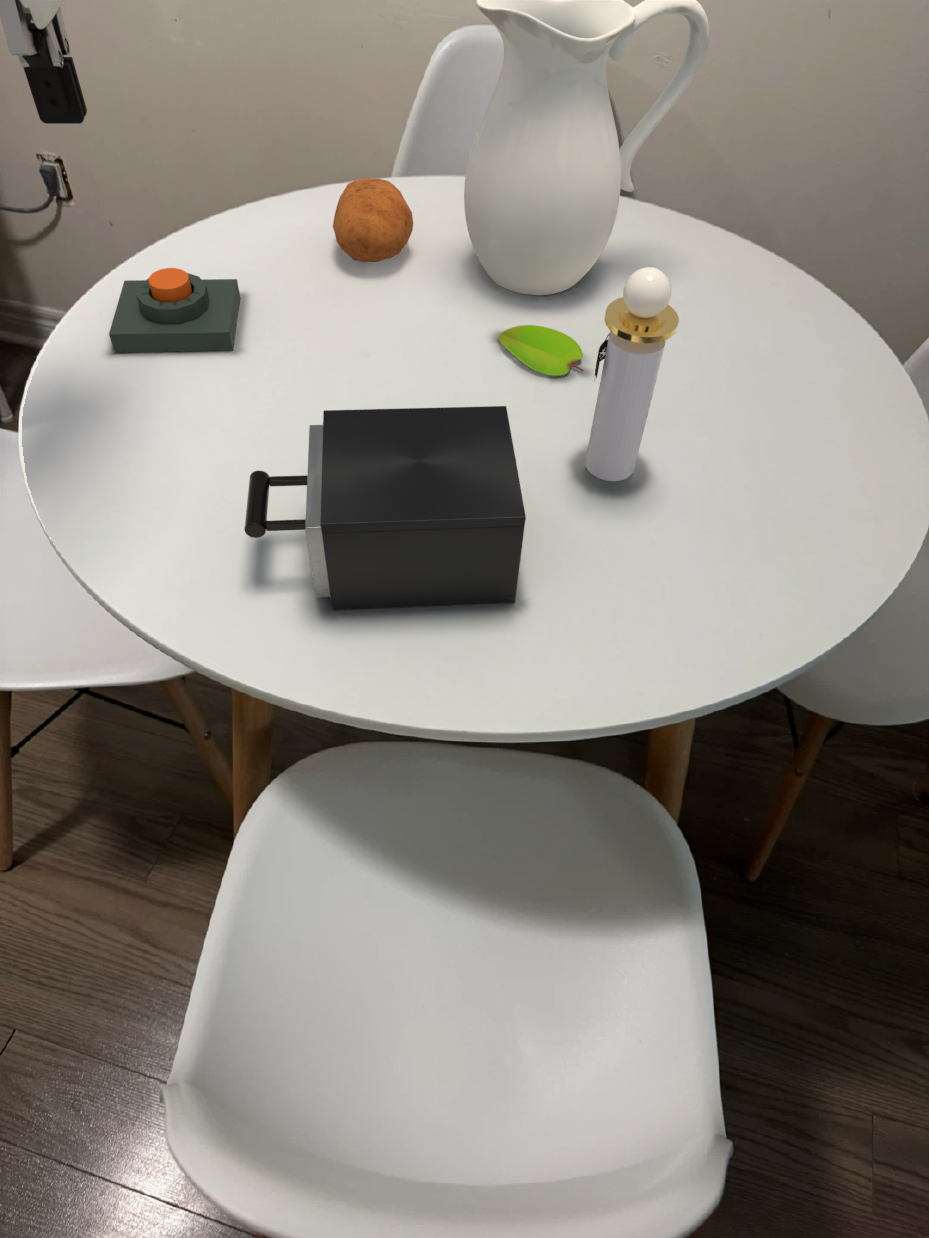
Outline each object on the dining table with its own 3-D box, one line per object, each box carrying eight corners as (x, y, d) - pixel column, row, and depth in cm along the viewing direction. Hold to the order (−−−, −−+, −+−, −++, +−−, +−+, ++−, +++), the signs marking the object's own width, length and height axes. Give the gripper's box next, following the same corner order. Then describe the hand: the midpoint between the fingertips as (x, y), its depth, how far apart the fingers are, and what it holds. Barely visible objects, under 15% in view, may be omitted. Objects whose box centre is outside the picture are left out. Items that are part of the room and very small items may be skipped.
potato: (419, 233, 107) (419, 170, 102) (405, 282, 100) (404, 218, 95) (345, 226, 108) (340, 163, 102) (326, 274, 101) (320, 210, 95)
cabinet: (332, 610, 70) (320, 524, 63) (333, 499, 78) (323, 410, 70) (515, 602, 71) (525, 517, 64) (498, 493, 79) (506, 405, 72)
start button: (149, 304, 90) (145, 289, 88) (155, 283, 92) (151, 268, 91) (189, 304, 90) (186, 288, 89) (194, 283, 92) (190, 267, 91)
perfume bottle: (650, 466, 82) (703, 266, 67) (621, 500, 79) (669, 300, 64) (596, 442, 84) (635, 242, 68) (566, 474, 81) (600, 274, 65)
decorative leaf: (523, 387, 90) (524, 380, 89) (493, 335, 94) (493, 327, 94) (592, 370, 91) (593, 362, 90) (559, 319, 96) (559, 312, 95)
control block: (114, 353, 90) (103, 318, 87) (129, 298, 96) (119, 264, 93) (233, 350, 91) (226, 316, 88) (240, 297, 97) (234, 263, 94)
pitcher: (473, 315, 97) (488, 24, 75) (451, 237, 107) (458, -39, 85) (681, 303, 100) (753, 21, 78) (640, 228, 110) (693, -40, 88)
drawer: (252, 600, 69) (234, 530, 63) (261, 498, 77) (246, 426, 70) (485, 590, 71) (491, 521, 65) (473, 491, 78) (477, 420, 72)
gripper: (-62, -230, 57) (36, 80, 72) (-140, -180, 48) (-11, 164, 62) (57, -226, 58) (130, 80, 72) (1, -176, 49) (98, 164, 63)
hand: (64, 118), depth 67 cm, fingers closed
